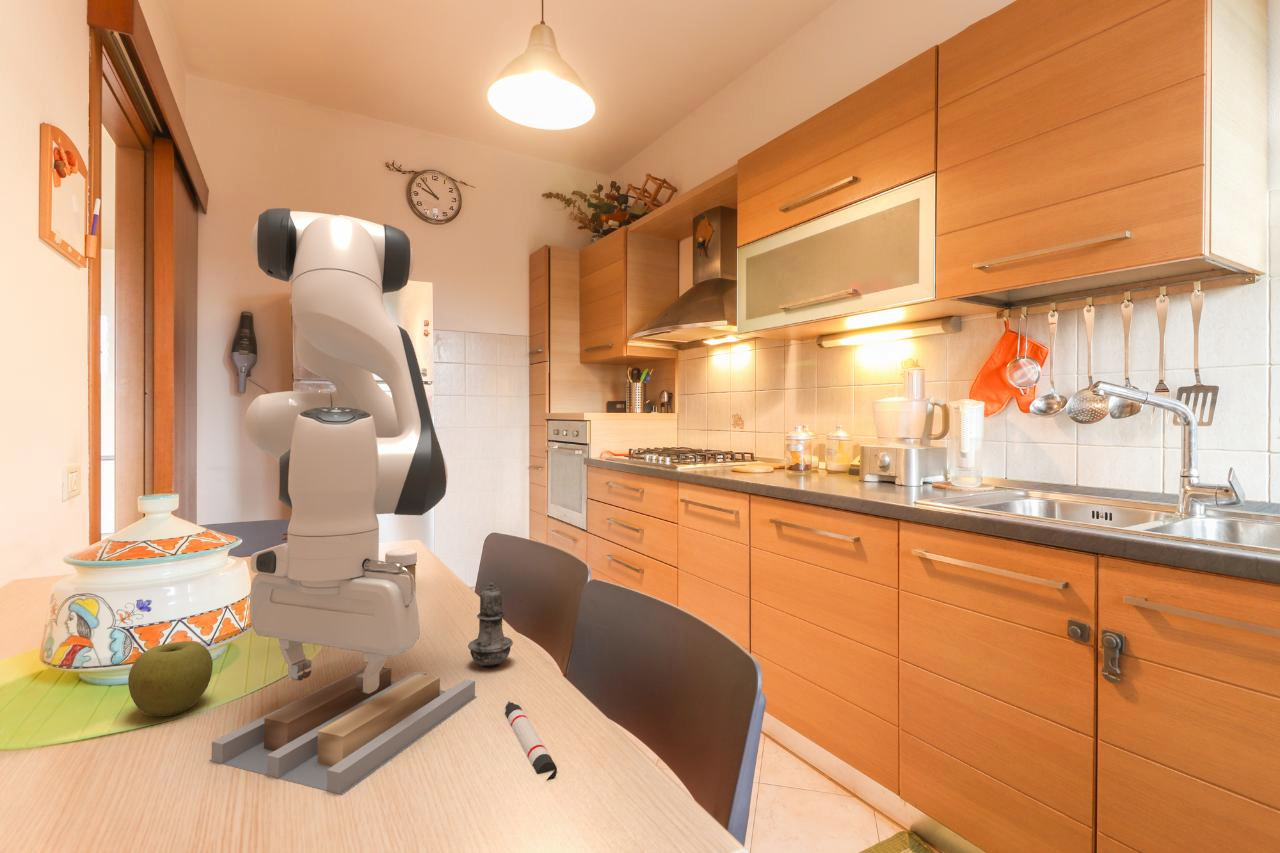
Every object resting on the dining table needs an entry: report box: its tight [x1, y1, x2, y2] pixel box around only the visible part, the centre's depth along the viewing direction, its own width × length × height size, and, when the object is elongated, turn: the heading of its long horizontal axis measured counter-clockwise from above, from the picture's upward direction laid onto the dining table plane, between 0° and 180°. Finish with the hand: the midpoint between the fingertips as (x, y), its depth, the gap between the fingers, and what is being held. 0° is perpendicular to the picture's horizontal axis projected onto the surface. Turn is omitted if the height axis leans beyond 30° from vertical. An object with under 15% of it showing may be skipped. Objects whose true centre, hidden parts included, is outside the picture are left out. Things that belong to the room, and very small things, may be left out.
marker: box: [504, 700, 558, 781], centre depth 61 cm, size 15×2×2 cm, turn 26°
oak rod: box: [317, 674, 441, 767], centre depth 62 cm, size 3×14×3 cm, turn 161°
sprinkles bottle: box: [384, 548, 418, 594], centre depth 92 cm, size 5×5×14 cm
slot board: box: [208, 665, 478, 796], centre depth 63 cm, size 16×20×3 cm
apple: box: [127, 640, 214, 717], centre depth 68 cm, size 8×8×7 cm
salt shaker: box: [467, 580, 514, 669], centre depth 80 cm, size 6×6×12 cm
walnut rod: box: [264, 666, 392, 751], centre depth 64 cm, size 3×14×3 cm, turn 162°
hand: (332, 684), depth 64 cm, fingers open, 8 cm apart
